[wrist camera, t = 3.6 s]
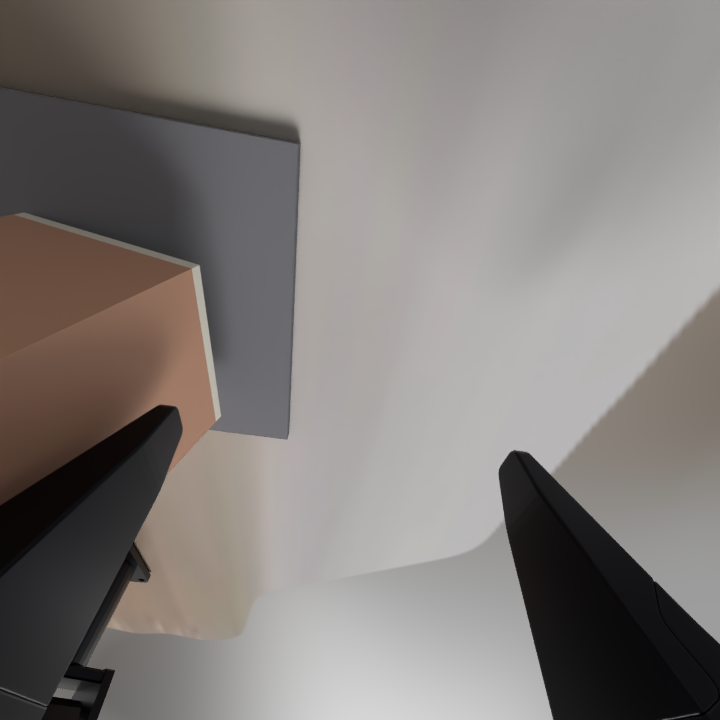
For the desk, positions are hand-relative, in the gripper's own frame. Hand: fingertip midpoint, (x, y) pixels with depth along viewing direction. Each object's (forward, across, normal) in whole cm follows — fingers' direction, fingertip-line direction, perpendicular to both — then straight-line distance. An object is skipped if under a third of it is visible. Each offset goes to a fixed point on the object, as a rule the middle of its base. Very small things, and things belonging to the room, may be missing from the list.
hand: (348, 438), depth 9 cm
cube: (+4, +8, 0) cm, 8 cm away
